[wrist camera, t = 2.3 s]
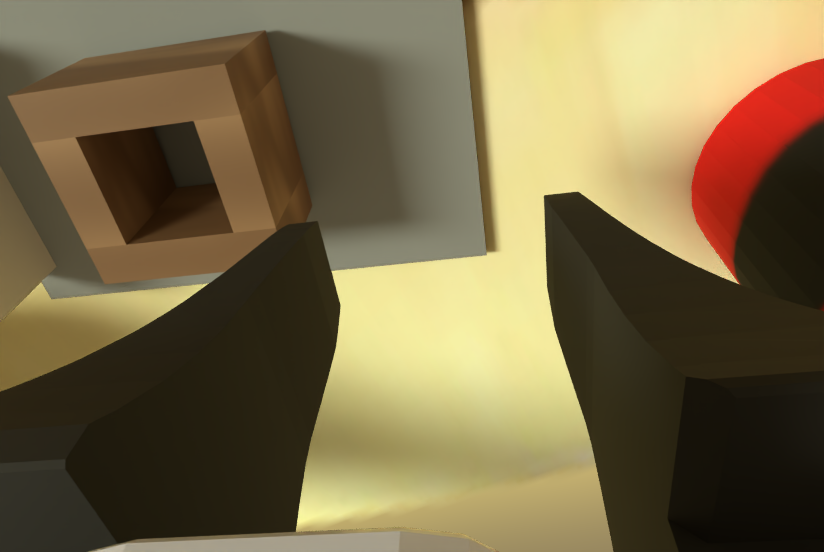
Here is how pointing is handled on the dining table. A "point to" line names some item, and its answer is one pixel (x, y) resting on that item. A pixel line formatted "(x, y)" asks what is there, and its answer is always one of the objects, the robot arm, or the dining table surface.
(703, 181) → the soda can
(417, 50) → the mat with wall
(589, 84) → the dining table surface
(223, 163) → the block
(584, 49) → the dining table surface
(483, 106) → the dining table surface
